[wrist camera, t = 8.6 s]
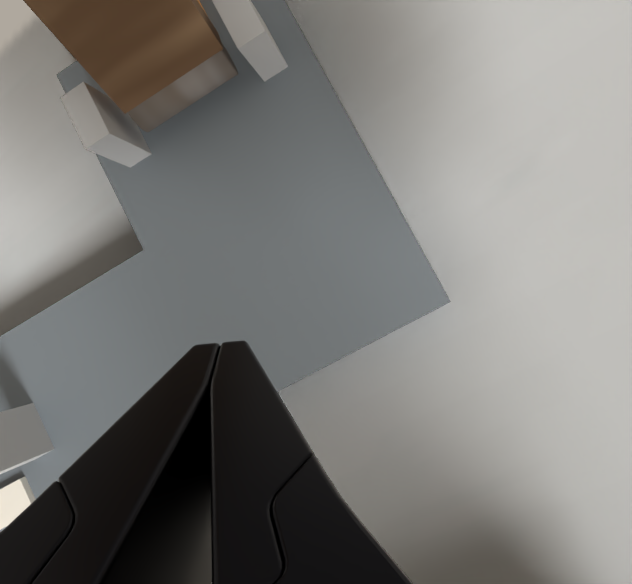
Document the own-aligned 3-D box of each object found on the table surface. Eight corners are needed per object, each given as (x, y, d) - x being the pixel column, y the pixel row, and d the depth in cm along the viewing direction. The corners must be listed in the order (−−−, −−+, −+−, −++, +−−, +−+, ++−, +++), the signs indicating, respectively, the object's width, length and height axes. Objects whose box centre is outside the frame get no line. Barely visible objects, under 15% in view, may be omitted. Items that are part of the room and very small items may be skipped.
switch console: (448, 300, 21) (453, 303, 16) (-25, 546, 25) (-131, 605, 20) (267, -30, 22) (222, -117, 17) (-153, 255, 26) (-279, 248, 22)
